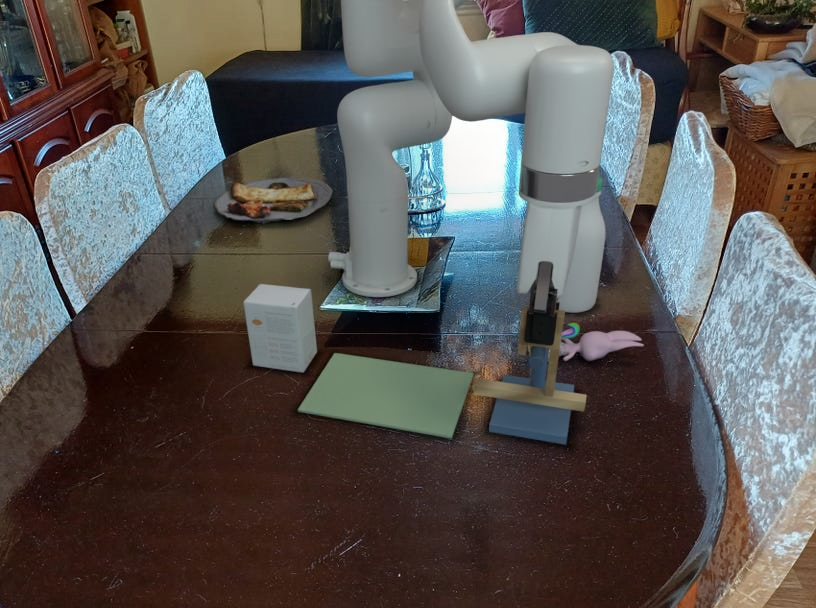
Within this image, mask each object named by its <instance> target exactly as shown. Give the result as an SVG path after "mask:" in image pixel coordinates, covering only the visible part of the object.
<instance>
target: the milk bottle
mask: <svg viewBox="0 0 816 608" xmlns="http://www.w3.org/2000/svg"><path fill="white" fill-rule="evenodd" d="M603 183H604V180H603V178H602V177H601V176H600V175H599V176H598V182H597V189H596V196H595V199H594V200H593V201H591V202H590V203H588V204H585V205H582V206H581V212H580V219H579V226H578V232H577V239H576V244H575V249H574V254H573V259H572V263H571V267H570V271H569V275H568V279H567V282H566V285H565V289H564V293H563V295H562V296H561V297H559V298H558V301H557V302H560V304H559V310H562V311H565V313H570V314H571V313H572V314H573V313H583V312H587V311H589V310H591V309H592V308H593V307H594V306H595V304H596V302H597V298H598V297H597V296H598V290H599V284H600V278H601V271H602V264H603V259H604V251H605V245H606V243H605V242H606V224H605V219H604V217H603V214H602V211H601V207H600V201H599V200H600V196H601V194H602V189H603Z"/></svg>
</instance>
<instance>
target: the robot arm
mask: <svg viewBox="0 0 816 608" xmlns="http://www.w3.org/2000/svg"><path fill="white" fill-rule="evenodd" d="M468 1H469V0H340V8H341V27H342V28H341V29H342V43H343V52H344V59H345V62H346V65H347V68H348V69H349V71H350V72H351V73H352V74H353V75H355V76H358V77H362V78H374V77H375V78H376V77H383V76H384V77H385V76H391V75H399V74H405V73H411V72H412V80H411V79H410V80H405V81H404V80H403V81H398V82H397V81H396V82H388V83H382V84H376V85H375V84H374V85H369V86H364V87H360V88H357V89H355V90H353V91H351V92H349V93H347V94H346V95H345V96H344V97H343V98H342V99H341V100H340V102H339V105H338V107H337V113H336V118H337V126H338V130H339V136H340V140H341V145H342V151H343V156H344V163H345V165H344V166H345V175H346V191H347V192H346V193H347V206H348V207H347V208H348V226H349V227H348V232H349V249H350V250H349V251H346V253H344V252H339V251H329V253H328V257H327V258H328V259H327V261H328V263H330V268H331V269H339V270H341V269H342V270H343V273H342V275H341V277H342V285H343V286H344V288H345V289H346V290H348V292H351V293H353V294H355V295H358V296H363V297H368V298H387V297H394V296H398V295H401V294H403V293H406V292H408V291H409V290H411V289H412V288H413V287H415V285H416V284H417V281H418V273H417V271H416V269H415V268H414V267H413V266H412V265H410V264H409V257H408V256H409V252H408V251H409V231H408V229H409V226H408V225H409V221H408V220H409V218H408V217H409V216H408V215H409V212H408V211H409V206H408V205H409V199H408V197H409V192H408V191H409V189H408V186H409V185H408V177H407V174H406V172H405V170H404V169H403V167H402V166H401V165H400V163H399V162H398V161H397V160H396V159H395V157H394V155H393V153H394V152H395V151H398V150H403V149H407V148H412V147H418V146H424V145H427V144H432V143H435V142H438V141H441V140H442V139H443V138H444V137H445V136H447V134H448V133H449V131H450V128H451V125H452V120H453V117H454V118H455V119H458V120H460V121H464V122H480V121H486V120H493V119H497V118H503V117H509V116H510V117H511V116H515V115H523V114H525V115H524V125H523V126H524V127H523V136H522V150H521V159H520V173H519V183H518V196H519V198H520V199H522V200H523V201H525V202H527V203H526V207H525V214H524V221H523V228H522V237H521V244H520V252H519V253H520V255H519V263H518V271H517V280H516V286H515V291H516V293H517V294H518V295H522V294H524V295H527V294H528V292H529V291H530V296H529V304H528V305H529V306H528V307H529V309H528V310H527V318H526V328H525V338H524V340H525V342H527V343H534V344H542V345H553V343H554V337H555V330H556V322H557V314H558V313H557V312H555V310H559V304H560V302H557V301H558V298H559V297H561V296H562V295H563V293H564V289H565V285H566V282H567V279H568V275H569V271H570V267H571V263H572V259H573V254H574V249H575V244H576V239H577V232H578V226H579V219H580V212H581V206H582V205H585V204H588V203H590V202H591V201H593V200H594V199H595V196H596V189H597V182H598V176H600V167H601V162H602V155H603V147H604V140H605V136H606V135H605V134H606V127H607V121H608V113H609V107H610V99H611V94H612V85H613V80H614V79H613V78H614V72H615V63H614V59H613V57H612V55H611V53H610V52H609V51H607V50H606V49H604V48H601V47H599V46H593V45H582V44H578V43H576V42H574V41H572V40H571V39H569V38H568V37H566V36H564V35H562V34H560V33H557V32H551V31H544V32H534V33H527V34H517V35H511V36H509V35H508V36H503V37H494V38H493V37H492V38H485V39H479V40H474V41H472V40H470V38H469V37H468V34H466V32H465V29H464V27H463V25H462V23H461V21H460V18H459V17H458V15H457V11H456V10H457V9H458V8H460V7H461V6H463V5H464V4H466V3H468Z"/></svg>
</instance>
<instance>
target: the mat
mask: <svg viewBox="0 0 816 608" xmlns="http://www.w3.org/2000/svg"><path fill="white" fill-rule="evenodd" d="M474 374H475V373H474V372H468V371H461V370H454V369H447V368H441V367H434V366H426V365H420V364H414V363H406V362H399V361H393V360H386V359H379V358H373V357H367V356H359V355H351V354H345V353H339V352H334V353H333V355H332V356H331V358H330V359H329V360H328V362H327V364H326V366H325V367H324V369H323V370H322V371H321V373H320V375H319V376H318V377H317V379H316V381H315V383H314V384H313V386H312V387H311V389H309V392H308V393H307V394H306V396H305V398H304V399H303V401H302V402H301V404H300V406H299V407H298V408H297V411H298V413H302V414H303V413H304V414H310V415H314V416H321V417H326V418H333V419H339V420H343V421H349V422H355V423H362V424H367V425H372V426H376V427H377V426H378V427H384V428H388V429H393V430H394V429H395V430H400V431H406V432H411V433H418V434H423V435H430V436H435V437H440V438H446V439H453V436H454V433H455V430H456V427H457V424H458V422H459V419H460V416H461V413H462V410H463V407H464V404H465V401H466V398H467V395H468V392H469V389H470V387H471V384H472V382H473V378H474Z"/></svg>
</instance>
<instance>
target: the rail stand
mask: <svg viewBox="0 0 816 608" xmlns="http://www.w3.org/2000/svg"><path fill="white" fill-rule="evenodd" d="M530 352H531V353H530ZM530 352H529V353H530V357H529V356H528V360H527V362H528V365H529V367H530V368H531V371H530V372H531V373H530V378H528V377H522V376H517V375H508V374H503V376H502V379H501V382H505V383H512V384H518V385H525V386H532V387H538V388H545V386H546V379H547V371H548V363H549V362H548V354H549V348H544V347H536V346H531V348H530ZM554 390H558V391H565V392H572V393H575V384H571V383H563V382H558V381H557V382H556V381H555V389H554ZM571 413H572V410H570V409H564V408H557V407H551V406H545V405H538V404H532V403H526V402H519V401H513V400H506V399H500V398H496V400H495V403H494V407H493V411H492V414H491V417H490V420H489V425H488V432H489V433H495V434H500V435H507V436H512V437H517V438H523V439H531V440H536V441H542V442H548V443H554V444H559V445H565V446H566V445H567V441H568V434H569V428H570V418H571Z"/></svg>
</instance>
